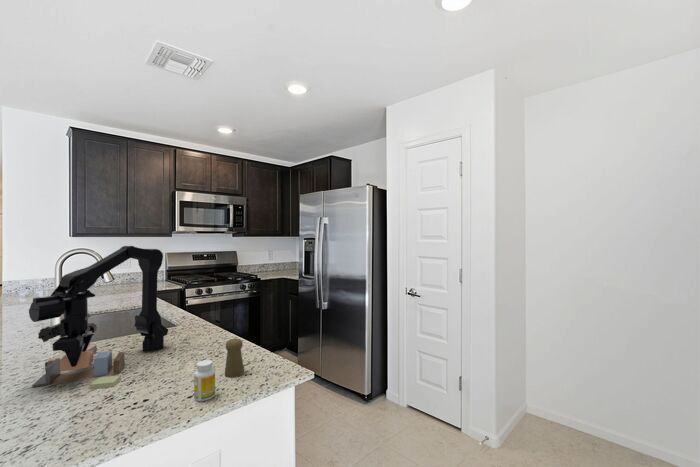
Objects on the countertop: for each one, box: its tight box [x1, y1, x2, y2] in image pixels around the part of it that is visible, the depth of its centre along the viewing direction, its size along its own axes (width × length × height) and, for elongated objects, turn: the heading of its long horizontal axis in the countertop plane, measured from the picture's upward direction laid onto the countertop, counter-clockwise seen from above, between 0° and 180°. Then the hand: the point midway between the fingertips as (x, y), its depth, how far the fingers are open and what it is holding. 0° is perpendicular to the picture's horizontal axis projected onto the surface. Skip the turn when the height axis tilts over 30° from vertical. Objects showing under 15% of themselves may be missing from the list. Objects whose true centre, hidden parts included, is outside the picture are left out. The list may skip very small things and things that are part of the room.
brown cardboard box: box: [60, 350, 94, 373], centre depth 102 cm, size 7×6×4 cm
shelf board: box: [30, 351, 125, 389], centre depth 103 cm, size 22×8×6 cm, turn 115°
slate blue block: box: [93, 350, 113, 376], centre depth 105 cm, size 4×6×6 cm, turn 25°
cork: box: [224, 338, 245, 378], centre depth 105 cm, size 6×6×11 cm
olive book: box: [89, 374, 122, 390], centre depth 96 cm, size 6×4×3 cm
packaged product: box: [44, 343, 100, 371], centre depth 114 cm, size 18×5×10 cm
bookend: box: [31, 358, 62, 388], centre depth 99 cm, size 4×8×5 cm, turn 25°
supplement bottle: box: [193, 359, 216, 402], centre depth 91 cm, size 5×5×10 cm
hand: (77, 362), depth 102 cm, fingers closed on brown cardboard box, 6 cm apart
